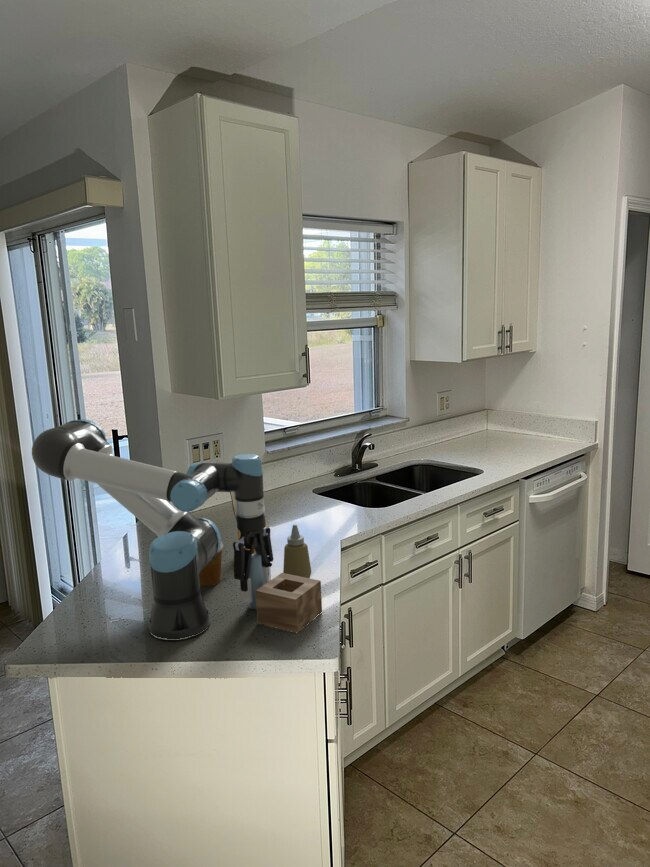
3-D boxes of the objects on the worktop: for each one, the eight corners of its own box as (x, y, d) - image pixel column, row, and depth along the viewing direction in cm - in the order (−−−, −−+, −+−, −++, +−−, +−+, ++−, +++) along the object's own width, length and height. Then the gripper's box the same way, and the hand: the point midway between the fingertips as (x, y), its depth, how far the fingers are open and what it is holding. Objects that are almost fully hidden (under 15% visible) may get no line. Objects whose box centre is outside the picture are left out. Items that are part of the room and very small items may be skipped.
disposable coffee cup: (194, 590, 192) (191, 550, 189) (191, 577, 201) (188, 539, 198) (227, 585, 194) (225, 546, 192) (223, 573, 203) (220, 535, 201)
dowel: (258, 610, 178) (255, 560, 175) (246, 607, 180) (242, 558, 177) (267, 604, 181) (264, 555, 178) (255, 601, 183) (251, 553, 180)
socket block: (297, 633, 165) (295, 599, 163) (257, 623, 171) (255, 590, 169) (322, 612, 175) (320, 580, 173) (283, 604, 181) (281, 572, 179)
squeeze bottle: (296, 576, 198) (293, 518, 195) (317, 583, 193) (315, 523, 189) (278, 586, 192) (274, 526, 188) (299, 593, 187) (295, 532, 183)
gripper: (238, 527, 165) (244, 613, 170) (283, 504, 182) (288, 583, 187) (214, 523, 169) (221, 608, 173) (261, 501, 186) (266, 578, 190)
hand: (256, 595), depth 180 cm, fingers open, 7 cm apart
